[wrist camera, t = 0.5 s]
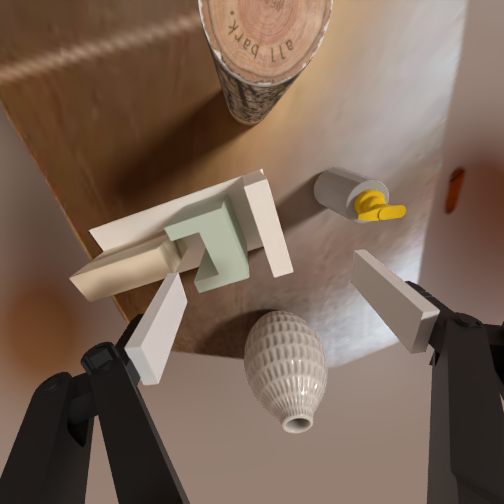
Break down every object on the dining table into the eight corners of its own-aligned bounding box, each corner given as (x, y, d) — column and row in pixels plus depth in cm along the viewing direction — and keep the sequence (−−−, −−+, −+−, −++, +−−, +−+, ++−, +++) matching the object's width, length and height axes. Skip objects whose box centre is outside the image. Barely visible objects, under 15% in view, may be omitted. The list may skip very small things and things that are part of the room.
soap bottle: (310, 169, 38) (362, 185, 22) (349, 164, 38) (430, 175, 22) (311, 207, 41) (356, 246, 25) (347, 202, 41) (416, 237, 25)
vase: (299, 285, 49) (340, 381, 29) (315, 334, 56) (356, 438, 36) (233, 307, 51) (228, 411, 31) (256, 351, 57) (264, 459, 37)
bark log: (259, 133, 35) (292, 108, 13) (220, 113, 34) (180, 44, 11) (278, 87, 33) (361, -48, 10) (236, 63, 31) (227, -156, 9)
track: (91, 229, 41) (32, 260, 29) (261, 168, 38) (271, 177, 26) (131, 286, 47) (96, 331, 35) (281, 238, 44) (296, 270, 32)
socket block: (185, 205, 39) (163, 227, 28) (226, 191, 38) (221, 208, 27) (209, 256, 43) (199, 292, 33) (247, 244, 43) (249, 277, 32)
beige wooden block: (105, 250, 42) (68, 278, 33) (175, 226, 41) (157, 248, 32) (120, 270, 44) (89, 302, 35) (187, 248, 43) (173, 275, 34)
